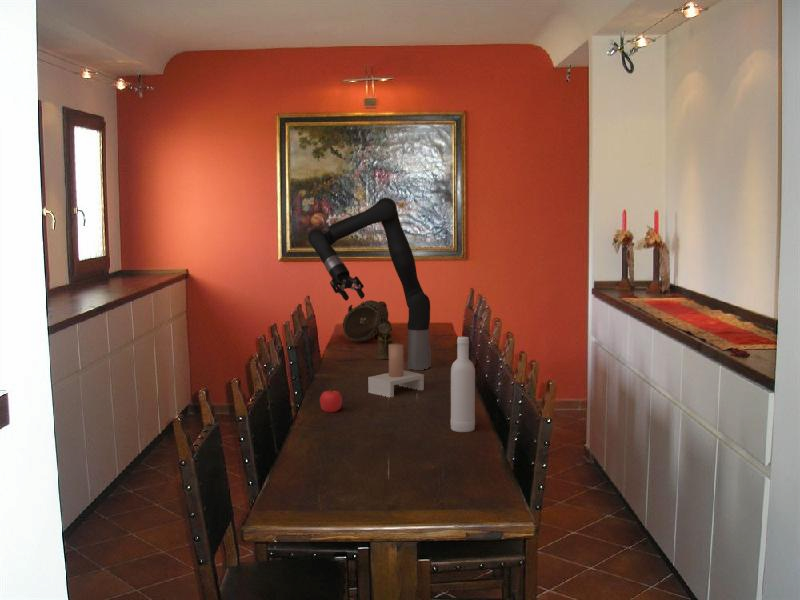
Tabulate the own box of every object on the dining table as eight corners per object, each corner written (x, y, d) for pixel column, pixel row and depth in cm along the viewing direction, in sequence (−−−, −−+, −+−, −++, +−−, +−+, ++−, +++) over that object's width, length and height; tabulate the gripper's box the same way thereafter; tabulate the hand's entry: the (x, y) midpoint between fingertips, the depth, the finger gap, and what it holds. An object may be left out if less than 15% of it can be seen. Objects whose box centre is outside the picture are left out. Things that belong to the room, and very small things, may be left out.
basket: (344, 308, 478) (331, 307, 444) (382, 290, 476) (371, 287, 442) (363, 348, 476) (351, 349, 442) (401, 330, 474) (392, 330, 439)
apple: (333, 414, 307) (333, 392, 306) (315, 411, 311) (314, 389, 310) (346, 409, 314) (346, 387, 313) (328, 407, 318) (328, 385, 317)
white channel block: (401, 385, 352) (401, 370, 352) (423, 389, 344) (423, 374, 343) (368, 392, 340) (368, 377, 339) (390, 397, 331) (390, 381, 331)
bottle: (458, 433, 283) (458, 340, 279) (445, 427, 289) (445, 336, 286) (479, 430, 286) (480, 338, 282) (466, 424, 293) (467, 334, 289)
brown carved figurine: (375, 361, 400) (374, 322, 398) (375, 356, 413) (375, 317, 411) (394, 361, 400) (394, 322, 398) (394, 356, 413) (394, 317, 411)
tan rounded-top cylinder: (396, 373, 345) (396, 342, 344) (406, 375, 341) (406, 344, 340) (385, 375, 341) (385, 344, 340) (395, 377, 337) (395, 346, 336)
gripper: (327, 263, 364) (346, 294, 357) (353, 261, 374) (372, 290, 367) (319, 275, 368) (338, 305, 362) (345, 273, 378) (363, 302, 372)
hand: (355, 298), depth 364 cm, fingers open, 8 cm apart
